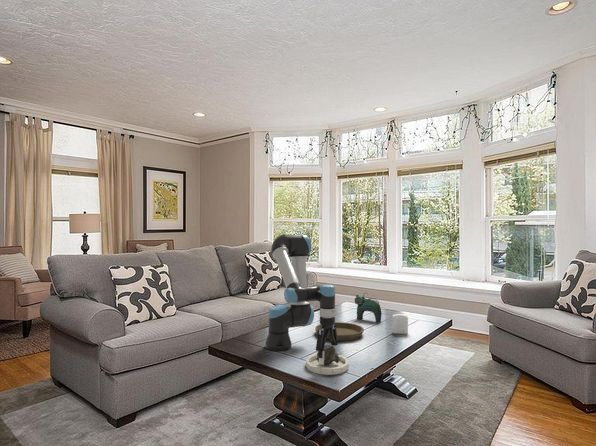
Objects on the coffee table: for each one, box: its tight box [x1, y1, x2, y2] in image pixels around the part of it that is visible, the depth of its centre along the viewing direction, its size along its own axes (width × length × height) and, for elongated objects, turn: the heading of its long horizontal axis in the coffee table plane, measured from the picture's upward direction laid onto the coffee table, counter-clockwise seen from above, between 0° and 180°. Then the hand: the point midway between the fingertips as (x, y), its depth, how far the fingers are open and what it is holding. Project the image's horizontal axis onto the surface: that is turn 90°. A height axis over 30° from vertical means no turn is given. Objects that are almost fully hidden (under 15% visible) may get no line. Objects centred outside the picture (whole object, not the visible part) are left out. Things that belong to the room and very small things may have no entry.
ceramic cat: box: [354, 292, 382, 323], centre depth 275 cm, size 20×6×20 cm, turn 55°
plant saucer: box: [314, 321, 365, 342], centre depth 239 cm, size 31×31×5 cm
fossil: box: [316, 344, 340, 365], centre depth 186 cm, size 11×9×10 cm
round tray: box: [305, 353, 350, 376], centre depth 186 cm, size 21×21×3 cm
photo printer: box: [391, 313, 409, 335], centre depth 243 cm, size 10×4×12 cm, turn 84°
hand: (327, 361), depth 186 cm, fingers closed on fossil, 10 cm apart
